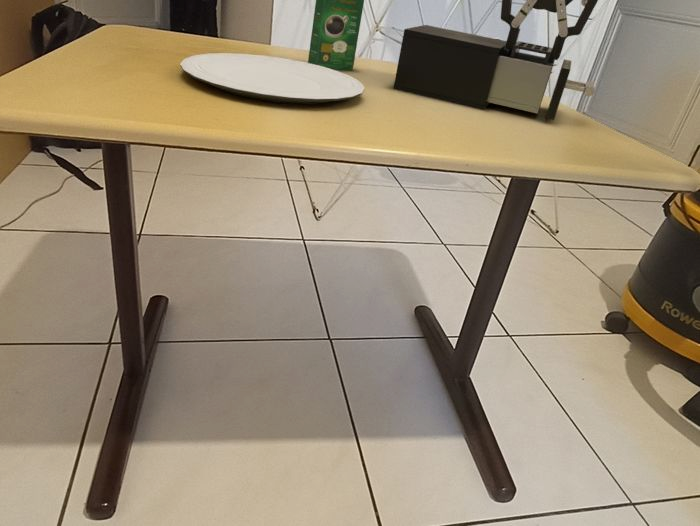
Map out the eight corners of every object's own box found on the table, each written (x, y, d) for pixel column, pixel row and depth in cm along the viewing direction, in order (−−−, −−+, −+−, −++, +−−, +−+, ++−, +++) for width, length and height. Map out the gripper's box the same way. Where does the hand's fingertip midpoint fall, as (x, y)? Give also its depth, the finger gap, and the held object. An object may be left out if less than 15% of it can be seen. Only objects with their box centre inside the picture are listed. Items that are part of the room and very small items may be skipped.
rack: (548, 63, 89) (553, 48, 88) (545, 69, 82) (550, 52, 81) (513, 56, 90) (518, 41, 89) (508, 61, 83) (513, 44, 82)
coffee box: (345, 68, 99) (356, -14, 92) (354, 72, 97) (367, -12, 90) (306, 67, 94) (315, -20, 88) (315, 71, 92) (325, -17, 86)
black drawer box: (495, 97, 96) (510, 41, 92) (483, 111, 85) (500, 48, 81) (414, 79, 100) (425, 24, 95) (392, 90, 88) (404, 28, 84)
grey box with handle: (583, 112, 92) (599, 66, 88) (583, 127, 81) (601, 76, 78) (477, 88, 96) (488, 43, 93) (464, 99, 86) (477, 50, 82)
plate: (385, 119, 71) (388, 105, 70) (180, 102, 64) (180, 85, 63) (339, 75, 92) (340, 63, 91) (180, 58, 84) (180, 45, 83)
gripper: (513, -79, 76) (480, 50, 84) (623, -63, 73) (578, 71, 81) (518, -73, 83) (487, 47, 91) (619, -58, 79) (578, 65, 87)
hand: (530, 57), depth 86 cm, fingers closed on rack, 5 cm apart
